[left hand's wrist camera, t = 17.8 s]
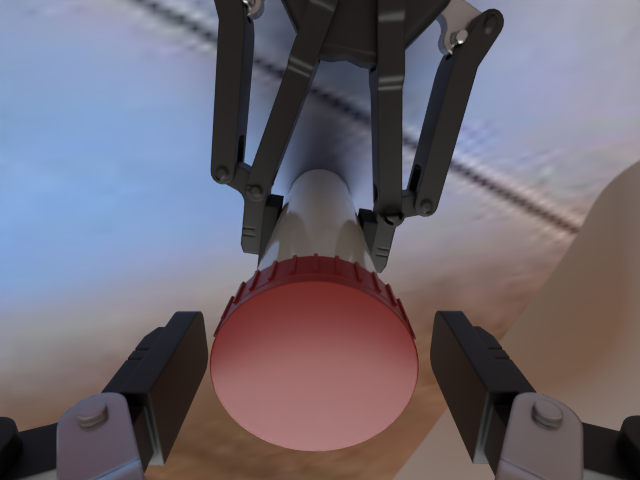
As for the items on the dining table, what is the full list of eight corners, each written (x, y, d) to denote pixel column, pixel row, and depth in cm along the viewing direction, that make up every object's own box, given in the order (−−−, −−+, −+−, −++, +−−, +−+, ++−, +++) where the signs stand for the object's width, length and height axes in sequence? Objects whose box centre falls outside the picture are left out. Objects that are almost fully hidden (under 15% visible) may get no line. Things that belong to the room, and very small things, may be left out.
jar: (349, 229, 28) (393, 423, 10) (289, 229, 28) (235, 422, 10) (351, 169, 26) (407, 280, 9) (287, 169, 26) (221, 279, 9)
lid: (433, 274, 10) (453, 303, 8) (378, 422, 12) (386, 468, 10) (236, 232, 9) (221, 255, 8) (212, 392, 11) (195, 435, 10)
